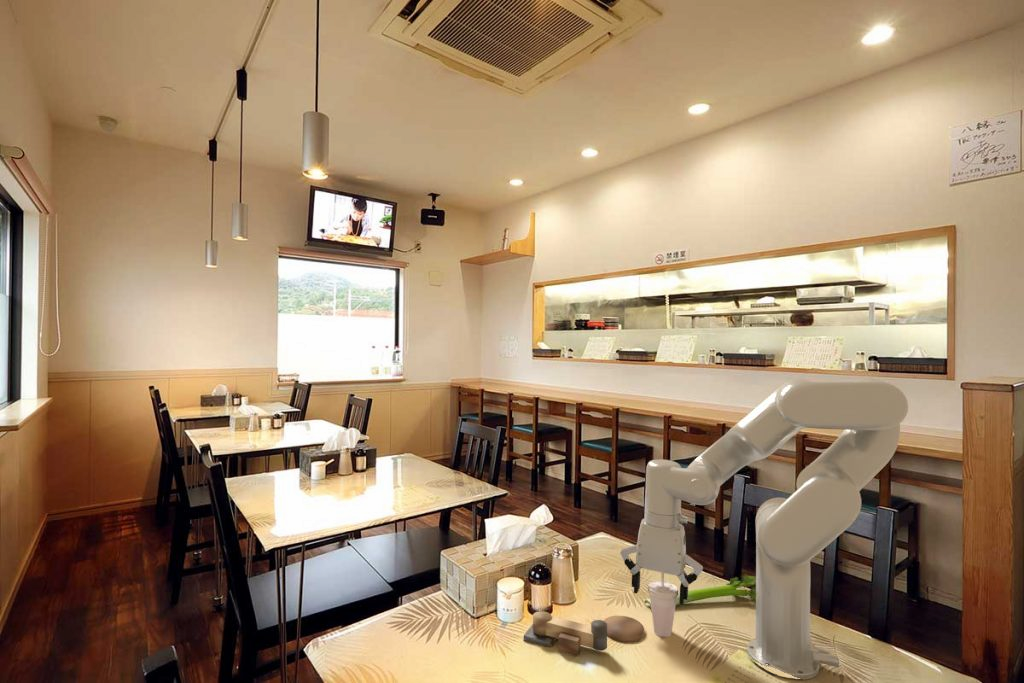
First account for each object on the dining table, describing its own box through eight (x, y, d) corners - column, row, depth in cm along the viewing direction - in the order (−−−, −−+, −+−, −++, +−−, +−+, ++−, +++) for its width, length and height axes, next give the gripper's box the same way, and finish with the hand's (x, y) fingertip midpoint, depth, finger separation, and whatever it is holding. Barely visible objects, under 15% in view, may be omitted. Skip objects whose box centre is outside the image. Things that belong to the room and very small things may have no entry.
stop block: (580, 651, 104) (580, 636, 104) (577, 656, 102) (577, 641, 102) (561, 646, 106) (561, 631, 106) (558, 651, 104) (558, 636, 104)
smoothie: (674, 625, 114) (674, 562, 114) (681, 641, 108) (681, 574, 108) (645, 623, 115) (645, 560, 115) (650, 639, 108) (650, 573, 108)
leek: (641, 610, 125) (749, 588, 131) (656, 629, 118) (768, 605, 124) (641, 587, 124) (750, 566, 130) (655, 605, 117) (769, 582, 123)
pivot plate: (560, 632, 111) (560, 628, 111) (550, 647, 105) (550, 642, 105) (534, 626, 113) (534, 621, 113) (523, 640, 108) (523, 635, 108)
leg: (529, 632, 108) (529, 611, 108) (537, 623, 112) (537, 603, 112) (603, 653, 101) (604, 631, 101) (609, 642, 105) (609, 621, 105)
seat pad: (647, 624, 114) (647, 621, 114) (639, 646, 106) (639, 642, 106) (607, 615, 118) (607, 612, 118) (597, 635, 110) (597, 631, 110)
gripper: (705, 520, 111) (702, 598, 111) (626, 506, 119) (623, 579, 119) (702, 531, 104) (699, 614, 104) (618, 515, 112) (615, 594, 112)
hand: (658, 596), depth 112 cm, fingers open, 9 cm apart
